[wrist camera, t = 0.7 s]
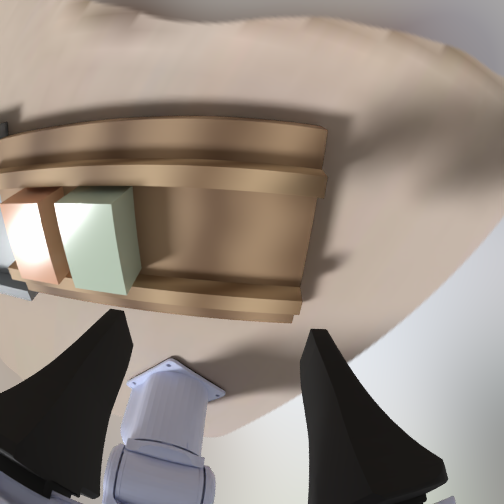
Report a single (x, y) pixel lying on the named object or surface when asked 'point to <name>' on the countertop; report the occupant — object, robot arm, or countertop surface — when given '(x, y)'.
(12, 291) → the tray
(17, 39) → the countertop surface
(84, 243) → the pale green upright block
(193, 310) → the brown wooden rack
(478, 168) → the countertop surface
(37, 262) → the salmon pink block
